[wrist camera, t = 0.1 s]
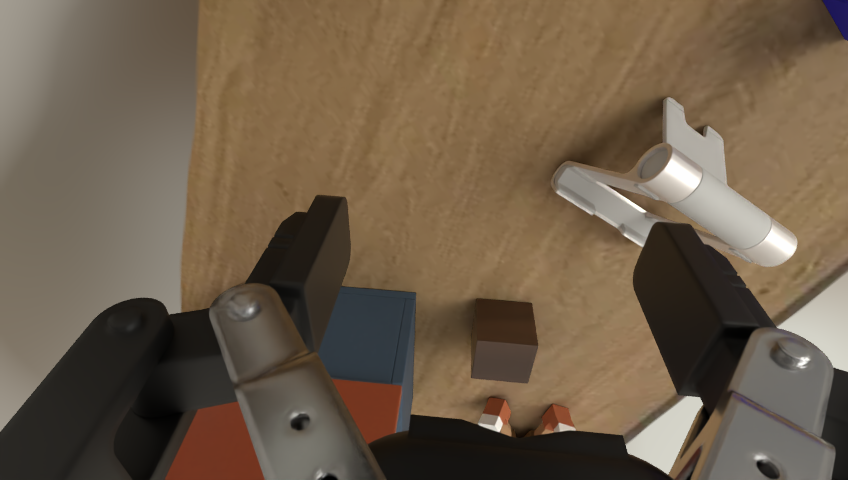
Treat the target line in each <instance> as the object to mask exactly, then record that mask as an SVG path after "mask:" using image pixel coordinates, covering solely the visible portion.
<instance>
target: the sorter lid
mask: <svg viewBox="0 0 848 480" xmlns="http://www.w3.org/2000/svg"><path fill="white" fill-rule="evenodd" d="M332 381H333V383H334V384H335V386H336V388H337V390H338V392H339V394H340V395H341V397H342V399H343V401H344V403H345V404H346V406H347V408H348V410H349V412H350V414H351V415H352V417H353V419H354V421H355V423H356V425H357V426H358V428H359V430H360V432H361V434H362V435H363V437H364V439H365V441H366V443H367V444H369V443H371V442H373V441H374V440H377V439H379V438H382V437H384V436H386V435H390V434H393V433H396V428H397V421H398V415H399V408H400V402H401V395H402V386H401V385H391V384H380V383H370V382H359V381H349V380H338V379H332ZM165 480H265V479H264V476H263V473H262V470H261V467H260V464H259V461H258V458H257V455H256V452H255V449H254V447H253V444H252V441H251V438H250V435H249V432H248V429H247V426H246V423H245V420H244V417H243V414H242V412H241V409H240V406H239V403H238V402H233V403H228V404H223V405H217V406H212V407H207V408H202V409H198V411H197V413H196V415H195V417H194V419H193V421H192V423H191V425H190V427H189V430H188V432H187V434H186V436H185V438H184V440H183V442H182V444H181V446H180V448H179V451H178V453H177V455H176V457H175V459H174V461H173V463H172V465H171V467H170V469H169V472H168V474H167V476H166V478H165Z"/></svg>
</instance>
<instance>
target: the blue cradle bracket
mask: <svg viewBox="0 0 848 480" xmlns="http://www.w3.org/2000/svg"><path fill="white" fill-rule="evenodd" d="M822 1H823V2H824V4H825V6H826V8H827V9H828V11H829V13H830V15H831V16H832V18H833V20H834V21H835V23H836V25H837V27H838V28H839V30H840V32H841V33H842V35H843V37H844V39H845V40H847V41H848V0H822Z"/></svg>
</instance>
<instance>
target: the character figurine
mask: <svg viewBox="0 0 848 480" xmlns="http://www.w3.org/2000/svg"><path fill="white" fill-rule="evenodd" d="M510 415H511V411H510V409H509V407H508V404H507V402H506V400H504V399H498V398H492V397H489V400H488V402H487V404H486V407H485V409H484V411H483V413H482V415H481V418H480V420H479V422H478V424H479V426H482V427H485V428H488V429H491V430H494V431H497V432H500V433H502V434H505V435H508V436H511V437H516V434H515V431H514V429H511V426H510V424H509V422H508V420H509V418H510ZM542 421H543V423H542V424H541V425H540V426H539V427H538V428H537V429H536V430H535V431H533V430H530V431H529V432H528V433H527V434H526V435H525V436H524V437H529V436H535V435H542V434H548V433H552V431H554V432H561V431H567V430H573V431H576V430H575V427H574V425H573V422H572V420H571V417H570V413H569V410H568V408H565V407H561V406H558V405H555V404H552V405H551V407H550V408H549V409H548V410H547V411H546V413H545V414H544V415H543V416H542Z"/></svg>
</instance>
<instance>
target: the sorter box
mask: <svg viewBox="0 0 848 480" xmlns="http://www.w3.org/2000/svg"><path fill="white" fill-rule="evenodd" d="M415 311H416V293H412V292H401V291H389V290H377V289H365V288H354V287H342V286H341V288H340V291H339V294H338V297H337V300H336V302H335V305H334V308H333V311H332V314H331V317H330V320H329V323H328V326H327V328H326V331H325V334H324V337H323V340H322V343H321V346H320V349H319V352H318V356H319V357H320V359H321V361H322V363H323V364H324V366H325V368H326V370H327V372H328V373H329V375H330V377H331V379H338V380H349V381H359V382H370V383H380V384H391V385H401V386H402V395H401V402H400V408H399V415H398V421H397V428H396V433H397V432H402V431H407V430H409V424H410V415H411V407H412V399H413V371H414V341H415Z"/></svg>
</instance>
